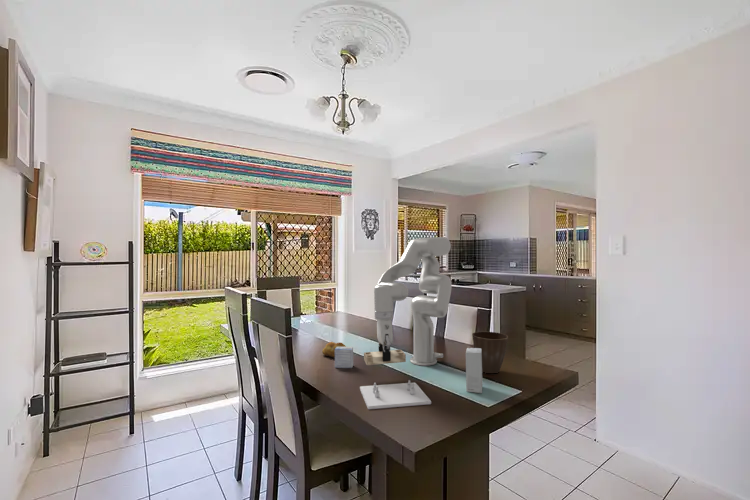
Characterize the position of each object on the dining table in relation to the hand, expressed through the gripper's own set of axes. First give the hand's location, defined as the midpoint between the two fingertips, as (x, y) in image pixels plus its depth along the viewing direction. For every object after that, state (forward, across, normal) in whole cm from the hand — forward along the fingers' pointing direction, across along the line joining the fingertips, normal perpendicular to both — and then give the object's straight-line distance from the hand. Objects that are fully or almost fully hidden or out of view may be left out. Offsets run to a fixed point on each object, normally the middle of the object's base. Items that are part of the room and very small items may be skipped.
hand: (384, 357), depth 147 cm
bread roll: (+9, +37, +17) cm, 42 cm away
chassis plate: (+8, -18, +1) cm, 20 cm away
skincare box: (+9, -17, -31) cm, 37 cm away
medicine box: (+9, +19, +15) cm, 26 cm away
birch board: (+1, 0, 0) cm, 1 cm away
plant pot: (+10, 0, -47) cm, 48 cm away
